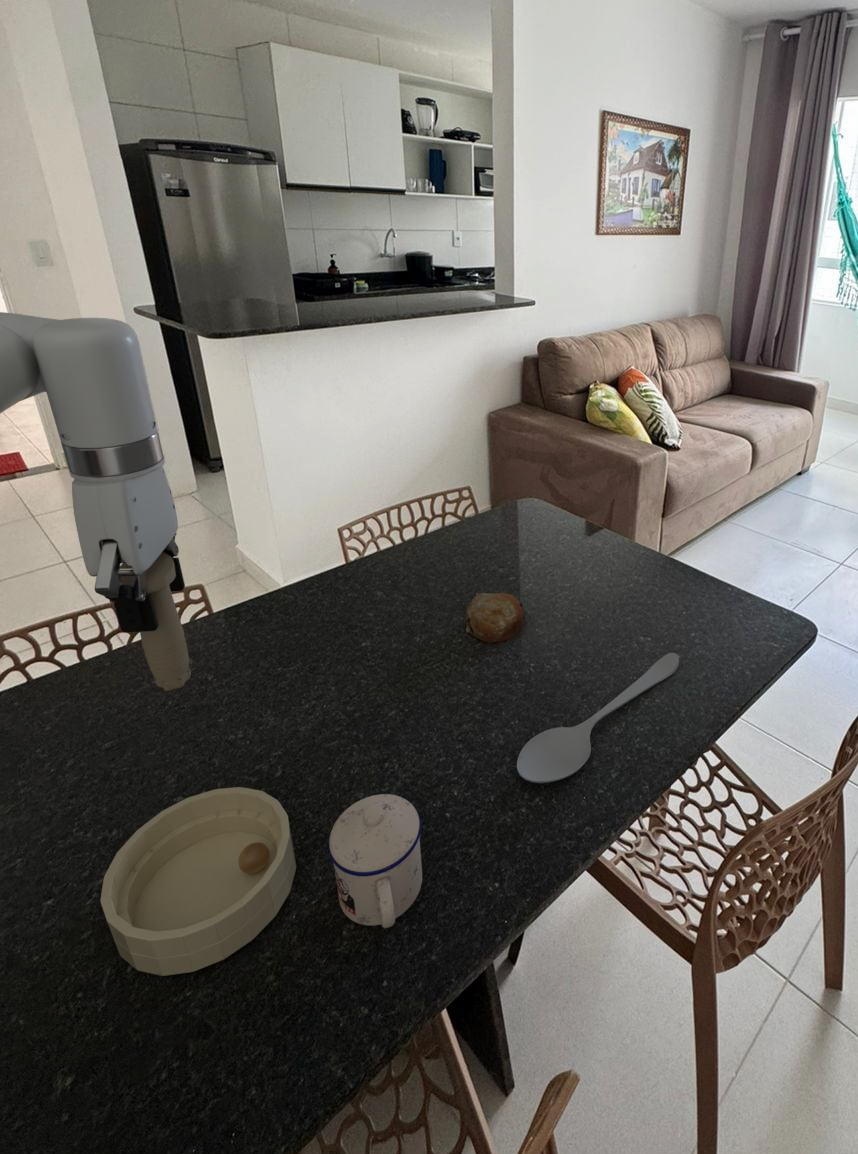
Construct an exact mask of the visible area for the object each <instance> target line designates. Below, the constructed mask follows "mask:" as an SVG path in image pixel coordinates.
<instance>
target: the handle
mask: <svg viewBox="0 0 858 1154" xmlns="http://www.w3.org/2000/svg"><path fill="white" fill-rule="evenodd" d="M129 568H132V566H128V565H127V564H126V563H121V564H120V569H129ZM145 573H146V595H151V596H152V600H153V604H154V608H155V612H156V616H157V620H158V624H159V626H158V628H157V629H156V630H155V631H144V632H139V635H140V640H141V646H142V649H143V652H144V656H145V659H146V662H147V665H148V667H149V670H150V672H151V675H152V676H153V680H154V682H155V684H156V686H157V687H158V688H162V689H163V690H164V691H166V692H170V691H172V690H176V689H181V688H182V687H184V686H185V683H186V682H188V681H189V680H190V679H191V676H192V675H191V667H190V659H189V650H188V644H187V640H186V635H185V631H184V628H183V625H182V622H181V619H180V615H179V613H178V609H177V607H176V603H175V599H174V596H173V594H172V593H173V592H171V590H170V586H169V584H170V583H171V582H172V581H173V580H174V579H175V577H176V572H175V565H174V561H173V558H172V557H171V556H169V555H168V554H166V553H164V552H162V553H161V554H160V555H159V556H158V558H157V559H156V560H155V561H154V563H153V564H152V565H151V566H150V567H149V568H148V569H147V570H146V571H145ZM121 584H122V585H129V586H131V587H134V576H121Z"/></svg>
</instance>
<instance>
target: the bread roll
mask: <svg viewBox="0 0 858 1154" xmlns="http://www.w3.org/2000/svg"><path fill="white" fill-rule="evenodd" d="M522 607H523V603H522V602H521V601H520V600H518V599H517V598H516V597H515V596H514V595H512V594H510V593H504V592H502V591H501V592H497V593H490V592H489V593H487V592H481V593H480V594H478V595H476V596H474V597H473V598H472V600H471V601H470V603H469V604H468V606H467V609H466V613H465V624H466V627H465V631H466V633H468V634H471V635H472V636H473V637H474V638H476V639H479V640H480V641H482V642H484V643H487V644H495V643H502V642H506V641H508V640H510V639H512V638H513V637H515V636H516V635H517V634H518V633H519V632H520V631H521V629H522V627H523V626H524V621H525V618H526V617H525V612H524V609H523V608H522Z"/></svg>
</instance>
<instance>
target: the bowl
mask: <svg viewBox="0 0 858 1154" xmlns="http://www.w3.org/2000/svg"><path fill="white" fill-rule="evenodd" d="M290 825H291V824H290V819H289V815H288V813H287V812H286V811H285V809H284V807H283V806H282V804H281V803H280V801H279V800H278V799H276V798H275V797H273V796H272V795H270V794H268V793H266V792H265V791H263V790H260V789H253V788H249V787H243V786H237V787H235V786H234V787H225V788H215V789H211V790H208V791H205V792H202V793H199V794H196V795H195V794H194V795H192V796H189V797H186V798H184V799H182V800H180V801H179V802H176V803H174V804H173V805H171V806H168V807H167V808H165V809H163V810H162V811H160V812H159V813H157V814H156V815H155V816H154V817H152V818H150V820H148V821H147V822H146V823H144V824H143V825H142V826H141V827H139V828H138V829H136V831H135V832H134V833H133V834H131V836H130V837H129V839H128V840H127V841H126V842H125V843H124V844H123V845H122V846H121V848H120V849H119V850H118V851H117V852H116V854H115V856H114V858H113V859H112V861H111V863H110V864H109V867H108V869H107V870H106V872H105V874H104V876H103V880H102V888H101V894H100V899H99V901H100V904H101V905H100V906H101V908H102V911H103V914H104V917H105V919H106V923H107V925H108V928H109V930H110V933H111V935H112V938H113V940H114V943H115V946H116V948H117V951H118V953H119V956H120V958H122V959H123V960H124V961H126V962H127V963H128V964H129V965H131V966H132V968H134V969H135V970H136V971H138V972H143V973H148V974H153V975H156V976H162V977H166V976H174V975H181V974H187V973H188V974H189V973H193V972H197V971H200V970H201V969H204V968H206V967H210V966H211V965H213V964H216V963H219V962H221V961H224V960H225V959H227V958H229V957H230V956H231V955H233V954H234V953H236V952H237V951H238V950H240V949H241V948H243V947H244V946H246V945H247V944H249V943H251V942H252V941H253V940H254V939H256V937H257V936H258V935H259V934H260V933H262V931H263V930H264V929H265V928H266V927H267V926H268V925H269V923H270V922H272V920H274V918H276V916H277V915H278V913H279V911H280V909H281V908H282V906H283V905H284V903H285V902H286V900H287V898H288V897H289V895H290V893H291V890H292V886H293V882H294V879H295V874H296V870H297V862H296V853H295V845H294V840H293V835H292V830H291V826H290ZM255 842H260V843H263V844H265V845H266V846H267V847H268V849H269V854H270V855H269V860H268V863H267V864H266V866H265V867H264V868H263V869H262V870H261V871H259V872H257V873H254V874H247V873H244V872H243V871H242V870H241V869H240V867H239V862H238V861H239V856H240V854H241V852H242V851H243V849H244V848H245V847H246V846H248V845H250V844H252V843H255Z"/></svg>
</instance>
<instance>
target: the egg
mask: <svg viewBox="0 0 858 1154" xmlns="http://www.w3.org/2000/svg"><path fill="white" fill-rule="evenodd" d="M269 855H270V854H269V849H268V847H267V846H266V845H265V844H263V843H260V842H255V843H252V844H250V845H248V846H246V847H245V848H244V849H243V851H242V852H241V854H240V856H239V861H238V862H239V867H240V869H241V870H242V871H243V872H244V873H247V874H254V873H257V872H259V871H261V870H262V869H263V868H264V867H265V866H266V864H267V863H268V860H269Z"/></svg>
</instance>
